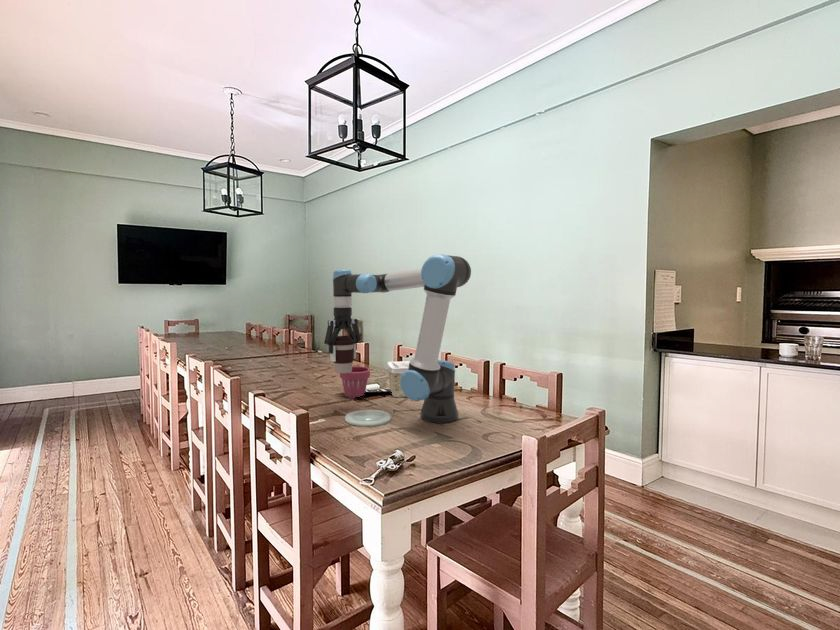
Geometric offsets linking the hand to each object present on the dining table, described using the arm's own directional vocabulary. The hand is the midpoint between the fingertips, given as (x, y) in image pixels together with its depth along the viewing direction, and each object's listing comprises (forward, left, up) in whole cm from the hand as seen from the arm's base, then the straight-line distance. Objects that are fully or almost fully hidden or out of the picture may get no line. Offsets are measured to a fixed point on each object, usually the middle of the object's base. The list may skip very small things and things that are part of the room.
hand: (343, 359), depth 187 cm
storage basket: (-40, +2, -21) cm, 46 cm away
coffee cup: (0, 0, -5) cm, 5 cm away
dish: (+2, +19, -21) cm, 28 cm away
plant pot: (-17, -13, -21) cm, 30 cm away
